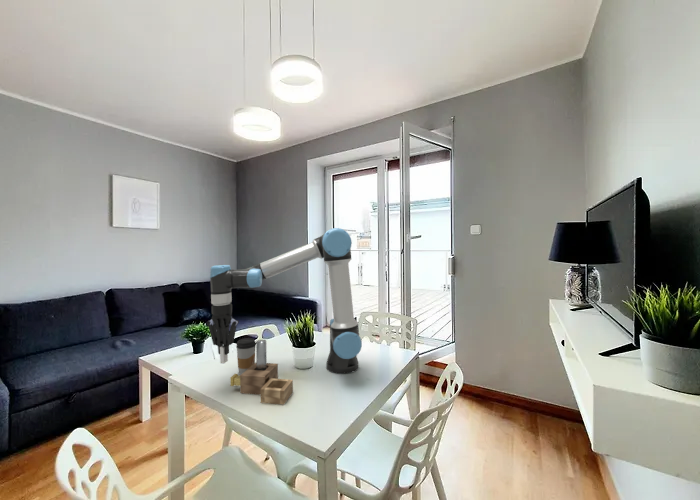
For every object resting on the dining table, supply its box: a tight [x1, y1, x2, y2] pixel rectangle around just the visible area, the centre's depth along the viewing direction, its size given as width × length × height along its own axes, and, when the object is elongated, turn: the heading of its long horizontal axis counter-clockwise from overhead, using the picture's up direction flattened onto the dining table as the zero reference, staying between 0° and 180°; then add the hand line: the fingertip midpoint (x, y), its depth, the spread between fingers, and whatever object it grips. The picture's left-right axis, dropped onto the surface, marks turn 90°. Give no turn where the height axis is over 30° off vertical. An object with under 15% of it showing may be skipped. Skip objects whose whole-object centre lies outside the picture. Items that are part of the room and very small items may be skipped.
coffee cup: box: [236, 337, 256, 375], centre depth 132 cm, size 8×8×15 cm
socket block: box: [239, 362, 279, 396], centre depth 120 cm, size 10×13×7 cm
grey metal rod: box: [255, 339, 268, 371], centre depth 121 cm, size 4×4×18 cm
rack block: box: [260, 378, 294, 405], centre depth 111 cm, size 9×9×5 cm
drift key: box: [229, 373, 266, 387], centre depth 117 cm, size 13×3×3 cm, turn 81°
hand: (224, 362), depth 118 cm, fingers closed
